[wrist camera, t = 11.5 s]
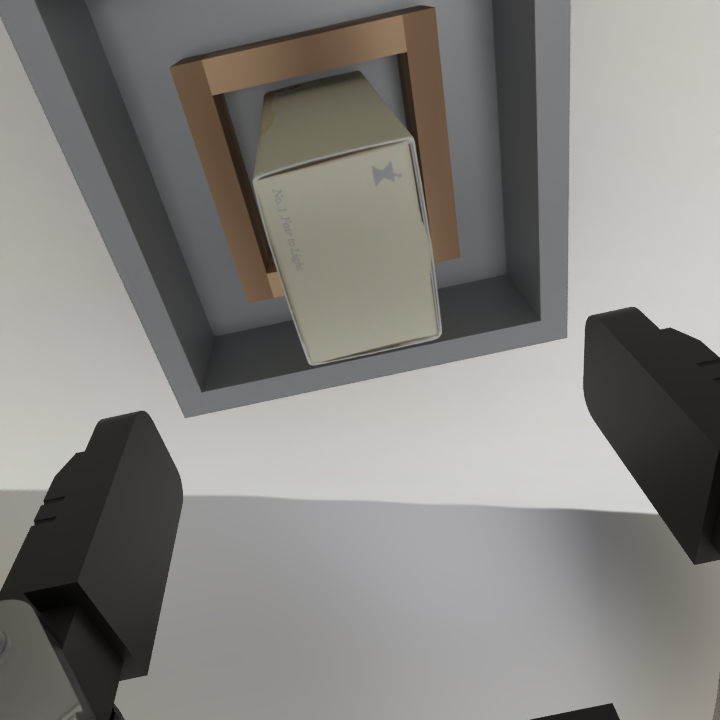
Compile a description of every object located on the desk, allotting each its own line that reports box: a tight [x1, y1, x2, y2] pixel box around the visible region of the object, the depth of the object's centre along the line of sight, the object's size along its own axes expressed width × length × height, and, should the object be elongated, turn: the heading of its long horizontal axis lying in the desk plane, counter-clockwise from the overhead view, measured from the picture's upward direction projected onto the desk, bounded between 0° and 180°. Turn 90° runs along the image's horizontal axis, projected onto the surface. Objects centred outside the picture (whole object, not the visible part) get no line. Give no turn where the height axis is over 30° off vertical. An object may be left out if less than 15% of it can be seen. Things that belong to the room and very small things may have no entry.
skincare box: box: [253, 71, 442, 365], centre depth 21 cm, size 6×4×12 cm
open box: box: [0, 0, 570, 418], centre depth 24 cm, size 18×18×6 cm
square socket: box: [169, 5, 460, 303], centre depth 25 cm, size 10×10×3 cm
